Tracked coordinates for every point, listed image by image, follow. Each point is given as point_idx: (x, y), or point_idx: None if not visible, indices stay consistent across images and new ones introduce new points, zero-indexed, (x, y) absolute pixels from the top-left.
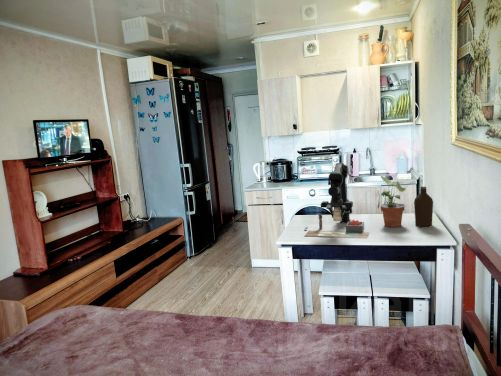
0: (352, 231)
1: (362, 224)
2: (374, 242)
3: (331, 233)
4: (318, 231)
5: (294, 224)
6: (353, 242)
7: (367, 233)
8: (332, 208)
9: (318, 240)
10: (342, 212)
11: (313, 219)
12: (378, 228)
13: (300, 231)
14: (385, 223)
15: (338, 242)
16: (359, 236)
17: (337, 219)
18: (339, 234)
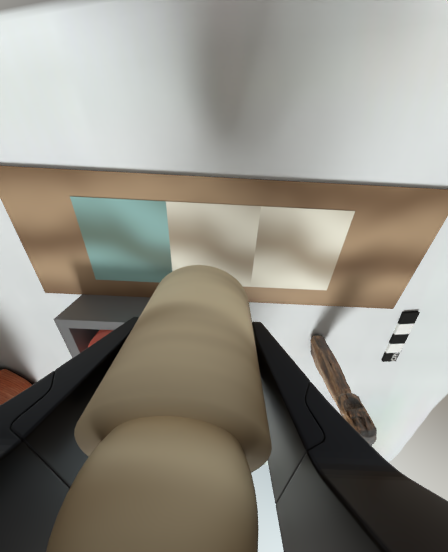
0: (138, 298)
1: (71, 347)
2: None
3: (256, 263)
4: (335, 297)
5: (436, 391)
6: (39, 24)
7: (47, 276)
8: (287, 533)
9: (366, 67)
10: (51, 390)
11: None
12: (42, 353)
13: (445, 297)
14: (12, 388)
15: (175, 3)
16: (63, 211)
17: (187, 277)
18: (203, 245)
